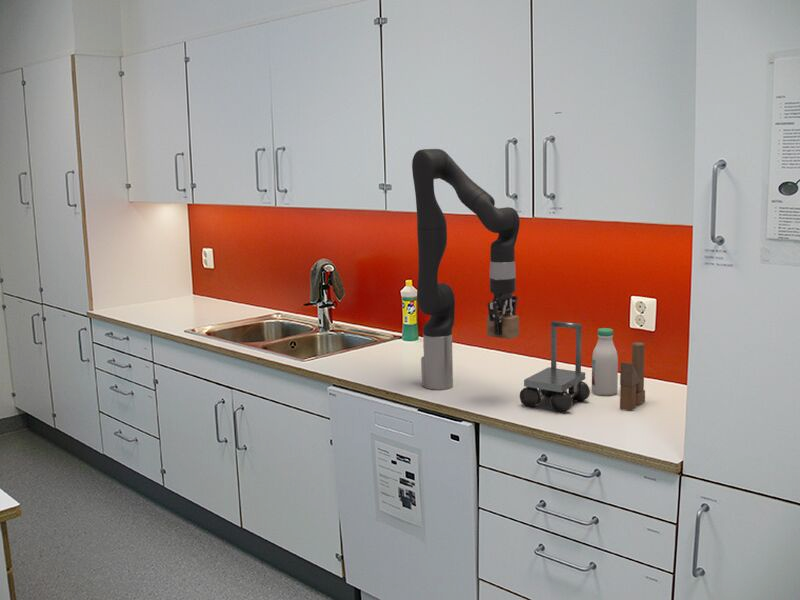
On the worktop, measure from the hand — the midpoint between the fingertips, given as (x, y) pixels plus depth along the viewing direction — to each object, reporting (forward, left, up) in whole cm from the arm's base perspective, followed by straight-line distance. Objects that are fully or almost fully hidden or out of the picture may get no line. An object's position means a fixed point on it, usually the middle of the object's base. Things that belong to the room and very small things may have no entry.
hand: (502, 332), depth 252 cm
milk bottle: (+22, +24, -21) cm, 39 cm away
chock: (0, 0, -1) cm, 1 cm away
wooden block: (+34, +16, -21) cm, 43 cm away
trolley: (+14, +6, -21) cm, 26 cm away
